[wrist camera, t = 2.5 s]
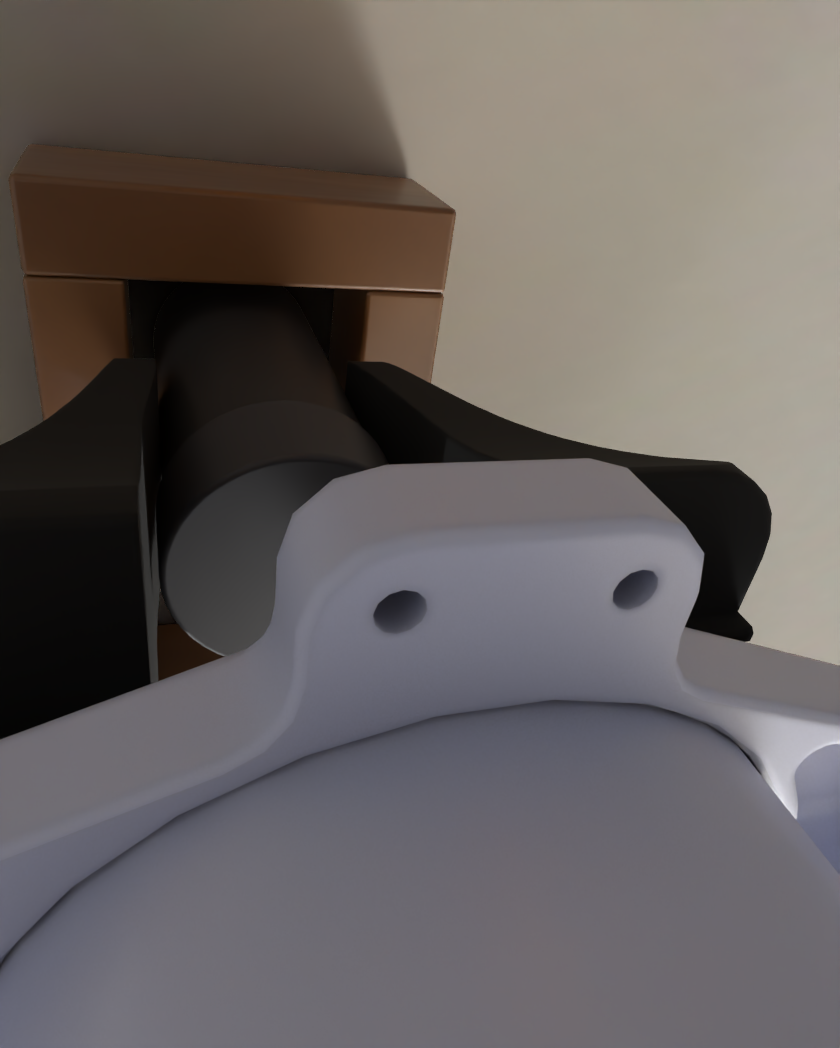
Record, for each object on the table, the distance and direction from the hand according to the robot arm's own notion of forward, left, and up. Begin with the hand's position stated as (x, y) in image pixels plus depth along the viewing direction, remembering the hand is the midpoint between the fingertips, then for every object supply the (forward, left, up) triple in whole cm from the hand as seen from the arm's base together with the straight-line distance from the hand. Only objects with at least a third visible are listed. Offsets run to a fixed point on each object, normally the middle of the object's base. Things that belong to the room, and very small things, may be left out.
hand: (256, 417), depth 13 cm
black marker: (0, 0, -3) cm, 3 cm away
